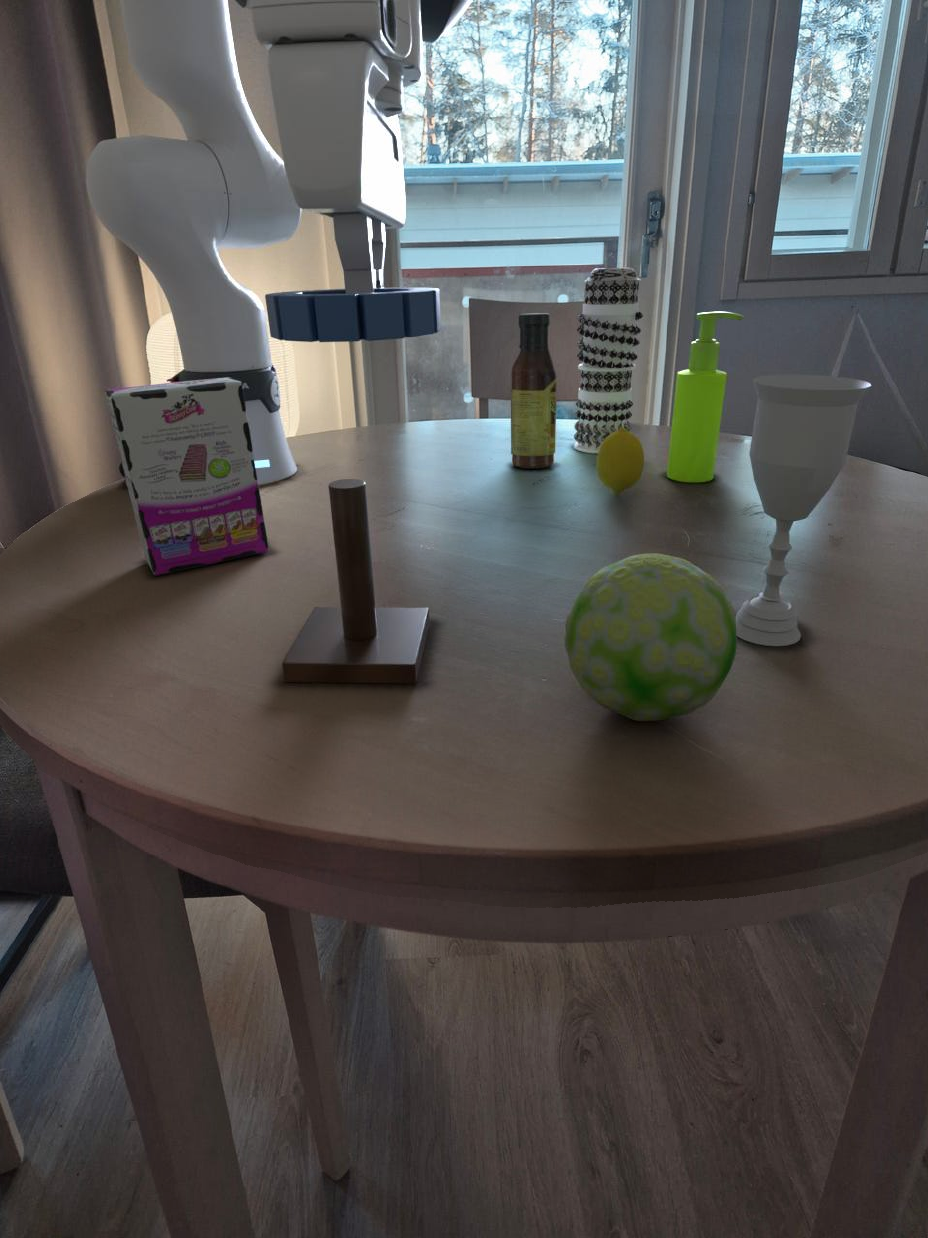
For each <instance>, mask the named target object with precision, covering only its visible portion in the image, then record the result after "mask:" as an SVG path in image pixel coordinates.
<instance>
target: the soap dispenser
mask: <svg viewBox="0 0 928 1238" xmlns="http://www.w3.org/2000/svg"><path fill="white" fill-rule="evenodd" d="M744 318H745V316H744V315H742V314H739V313H736V312H730V311H708V312H698V313H697V314H696V318H695V320H700V326H699V334H698V335H699V336H698V338H696V339H695V341H692V342H691V343H690V351H689V359H688V369H683V370H680V371H677V373H676V382H675V383H676V384H675V393H674V402H673V411H672V412H673V413H672V422H671V429H670V440H669V449H668V459H667V470H666V477H667V478H668V479H670V480H672V481H676V482H681V483H706V482H710V481H712V480H713V479H714V474H715V465H716V459H717V453H718V444H719V437H720V429H721V423H722V422H721V421H722V415H723V407H724V399H725V393H726V392H725V391H726V383H727V376H728V373H727V372H726V371H723V370H719V369H718V364H719V355H720V348H721V342H720V341H717V339H716V338H714V337H715V329H716V322H717V321H716V320H717V319H730V320H736V321H742V320H743V319H744Z"/></svg>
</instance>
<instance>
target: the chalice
mask: <svg viewBox="0 0 928 1238" xmlns="http://www.w3.org/2000/svg"><path fill="white" fill-rule="evenodd" d="M752 383H753V386H754V389H755V393H756V395H757V402H756V409H755V416H754V422H753V428H752V435H751V441H750V448H749V454H748V455H749V460H750V465H751V471H752V477H753V481H754V484H755V487H756V490H757V493H758V496H759V499H760V502H761V505H762V508H763V511H764V514H765V515H766V516H768V517H771V518H772V519H773V520H775V532H774V534H773V537H772V540H771V541H770V542H769V543H768V544H767V546H768V548H769V550H770V559H769V561H768V563H767V564H766V566H763V567H762V571H763V573H764V574H765V580H766V585H765V587H764V589H763V591H762V592H760V593H759V595H754V596H751V597H749V598H748V599H747V600H745V601H744V602H743V603H742V605H741V608H740V609H739V610H738V611H737V612H736V613H735V619H736V636H737V638H740V639H741V640H744V641H746V642H748V643H752V644H756V645H760V646H768V647H785V646H790V645H794V644H796V643H797V642H799V641H800V640H801V637H802V634H801V632H800V629H799V628H798V625H799V622H798V620H797V617H796V611H795V609H794V607H793V606H792V604H791V602H789V601H788V600H786V599H784V598H783V596H782V595H781V593H780V585H781V583H782V581H783V579H784V577H786V576H787V575H789V573H790V572H789V570H788V569H787V568H786V563H785V559H786V557H787V555H788V553H789V552H790V551H791V550H792V549H793V546H792V545H791V543H790V541H791V540H790V539H791V538H790V531H791V529H792V526H793V524H794V522H798V521H802V520H803V521H804V520H805V519H807V518H808V517H809V516H810V514H811V513H812V512H813V511H814V510H815V508H816V507H817V506H818V505H819V503H820V502H821V501H822V499H823V498H824V497H825V495H826V494H827V493H828V492H829V490H830V489H831V488H832V486H833V484H834V482H835V481H836V479H837V478H838V476H839V474H840V473H841V471H842V469H843V468H844V466H845V464H846V461H847V456H848V451H849V447H850V442H851V438H852V433H853V429H854V423H855V418H856V415H857V414H856V413H857V410H858V405H859V402H860V401H861V400H862V398H863V397H864V396H865V394H866V393H868V391H869V389H870V388H871V387H872V384H871V383H870V382H868V381H866V380H861V379H856V378H850V377H842V376H833V375H831V376H830V375H821V374H820V375H819V374H818V375H817V374H771V375H762V376H756V377H754V378H753V379H752Z"/></svg>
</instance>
